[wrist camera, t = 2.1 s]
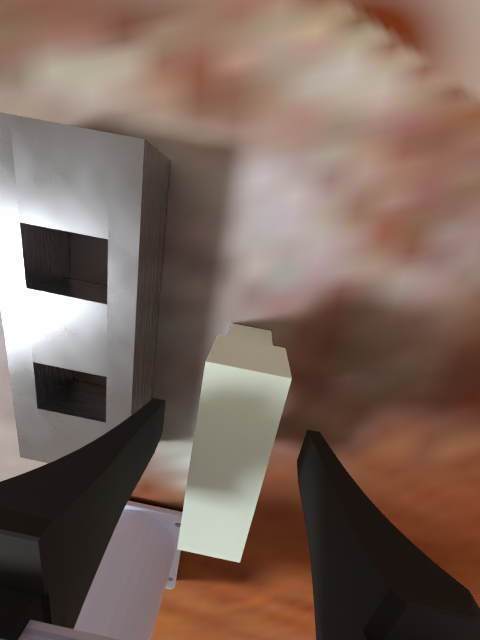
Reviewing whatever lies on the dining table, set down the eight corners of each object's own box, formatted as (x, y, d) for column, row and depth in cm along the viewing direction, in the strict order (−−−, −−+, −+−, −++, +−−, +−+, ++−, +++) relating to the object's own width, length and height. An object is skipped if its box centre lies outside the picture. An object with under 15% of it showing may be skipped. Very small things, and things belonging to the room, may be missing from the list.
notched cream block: (247, 451, 18) (240, 562, 12) (205, 442, 18) (177, 549, 12) (279, 319, 15) (291, 378, 9) (228, 309, 15) (205, 361, 9)
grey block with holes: (148, 442, 19) (127, 479, 16) (57, 423, 19) (20, 457, 16) (170, 160, 13) (144, 139, 10) (38, 135, 13) (-26, 107, 10)
